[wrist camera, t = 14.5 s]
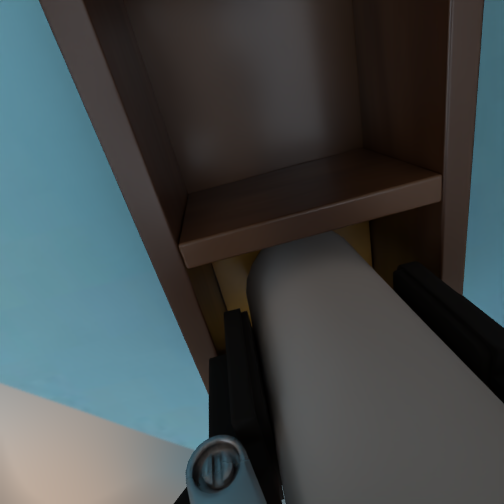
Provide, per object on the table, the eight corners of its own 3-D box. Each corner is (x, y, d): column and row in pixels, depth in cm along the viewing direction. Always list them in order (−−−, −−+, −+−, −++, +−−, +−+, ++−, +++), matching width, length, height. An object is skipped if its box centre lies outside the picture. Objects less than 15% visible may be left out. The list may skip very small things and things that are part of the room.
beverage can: (251, 329, 15) (370, 966, 4) (235, 232, 13) (397, 1046, 2) (354, 310, 15) (731, 860, 4) (355, 211, 13) (1130, 822, 2)
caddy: (226, 350, 17) (233, 453, 12) (80, -54, 10) (-54, -210, 5) (384, 307, 17) (456, 392, 12) (359, -128, 10) (513, -356, 5)
